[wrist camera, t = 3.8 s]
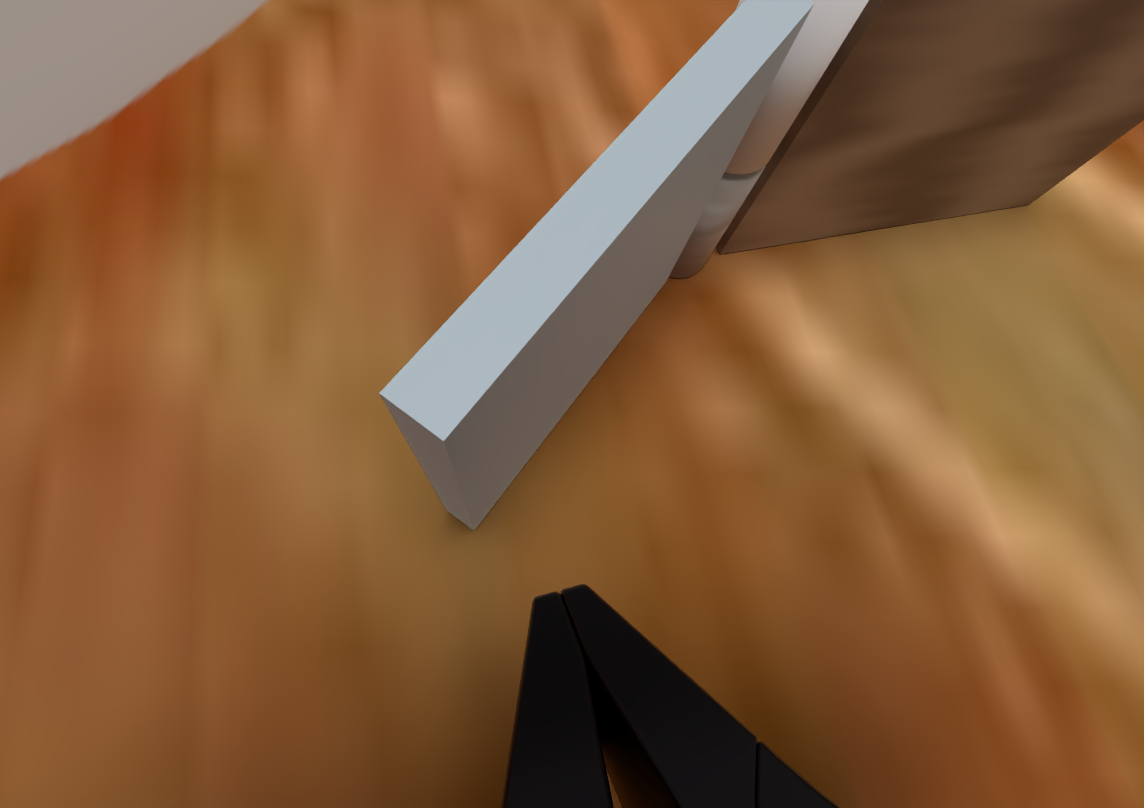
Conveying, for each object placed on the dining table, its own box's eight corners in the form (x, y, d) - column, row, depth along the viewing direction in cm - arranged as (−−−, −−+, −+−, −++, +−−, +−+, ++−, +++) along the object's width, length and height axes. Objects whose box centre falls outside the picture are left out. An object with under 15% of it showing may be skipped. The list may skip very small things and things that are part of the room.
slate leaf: (666, 204, 20) (802, -111, 11) (721, 240, 20) (905, -51, 11) (426, 495, 16) (334, 360, 7) (493, 546, 16) (490, 475, 7)
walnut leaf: (653, 283, 20) (796, -5, 10) (633, 226, 20) (751, -93, 11) (1037, 218, 23) (1410, -43, 14) (1009, 171, 24) (1346, -110, 14)
